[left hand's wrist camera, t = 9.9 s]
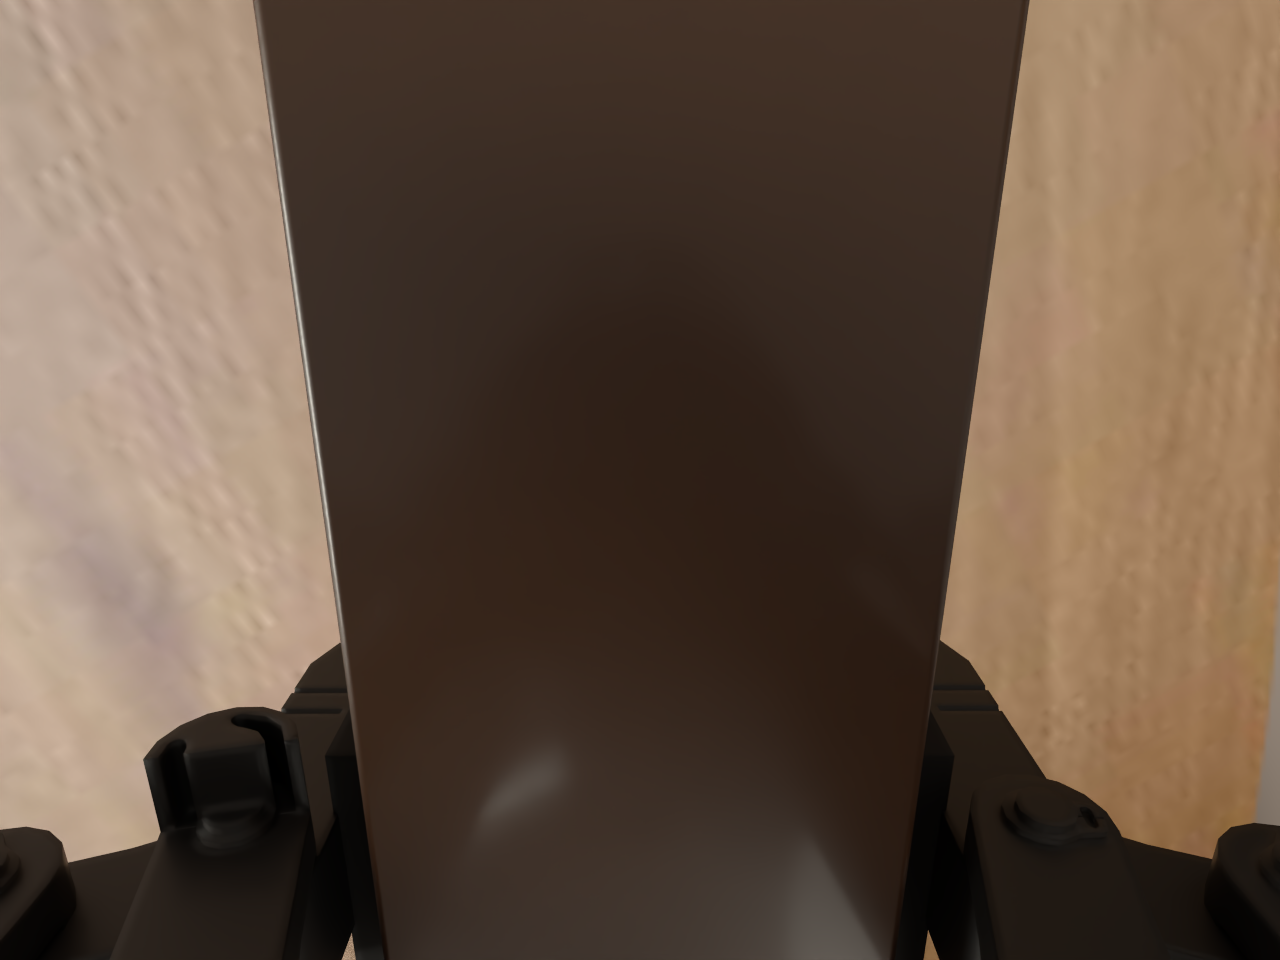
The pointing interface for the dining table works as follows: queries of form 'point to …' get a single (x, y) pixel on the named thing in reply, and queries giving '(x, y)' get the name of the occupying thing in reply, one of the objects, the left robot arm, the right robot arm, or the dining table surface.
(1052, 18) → the dining table surface
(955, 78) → the beam
